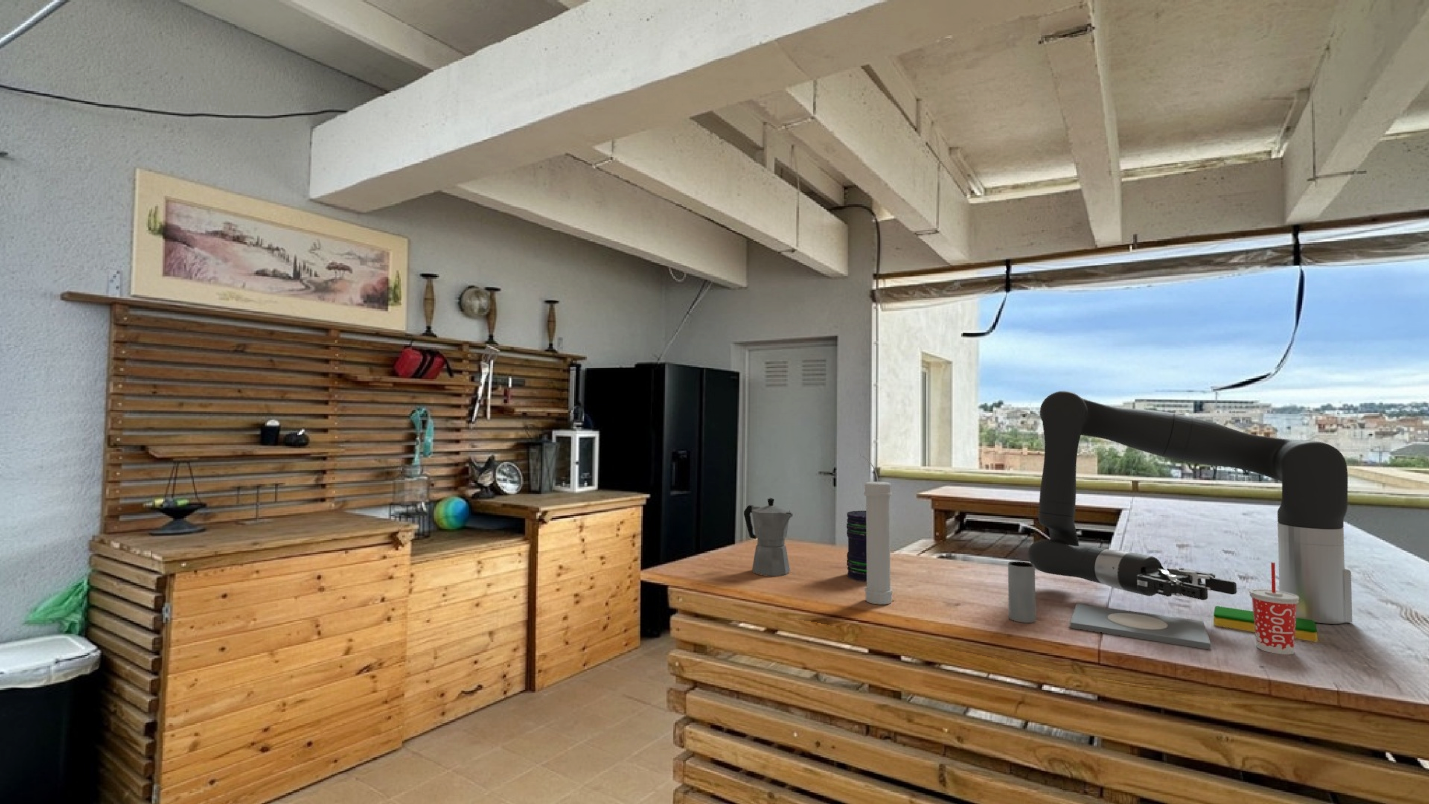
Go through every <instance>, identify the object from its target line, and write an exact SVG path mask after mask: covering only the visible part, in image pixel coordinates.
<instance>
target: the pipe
mask: <svg viewBox="0 0 1429 804" xmlns="http://www.w3.org/2000/svg"><path fill="white" fill-rule="evenodd" d="M860 457H862V458H863V459H865V460H866V461H868V463H869V464H870V465H871V466H872V469H873V470H874V472H875V476H876V481H867V482H865V483H864V493H863V495H864V496H866V497H865V499H866V500H865V502H866V503H865V505H866V508H865V509H866V510H865V511H866V536H867V582H866V586H865V587H864V592H865V601H866V602H867V603H869V604H873V605H881V606H882V605H884V606H885V605H888V604H889V605H890V604H891V603H892V602H893V588H892V587H891V497H892V496H893V493H892V484H891V482H887V481H879V478H878V473H877V471H876V468H875V466H874V464H873V463H872V462H871V461H870V460H869V459H868V458H866V457H865V456H864V455H862V454H860Z"/></svg>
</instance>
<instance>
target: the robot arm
mask: <svg viewBox="0 0 1429 804" xmlns="http://www.w3.org/2000/svg"><path fill="white" fill-rule="evenodd" d="M1039 416H1040V420H1041V422H1042V428H1043V437H1044V459H1043V466H1042V476H1041V480H1040V481H1041V482H1040V488H1039V489H1040V490H1039V491H1040V492H1039V499H1038V500H1039V501H1038V523H1039V524H1040V525H1041V526H1043V527H1045V528H1046V529H1048V532H1049V538H1048V539H1047V538H1046V539H1045V538H1044V539H1038V540H1036V541H1034V542H1033V543H1031V544H1030V545H1029V548H1028V551H1027V557H1028V560H1029V563H1032V564H1034V565H1035V570H1038V571H1040V572H1042V573H1044V574H1050V575H1054V576H1055V575H1056V576H1061V577H1062V576H1064V577H1070V578H1071V577H1072V578H1079V579H1083V580H1087V581H1089V582H1093V583H1098V584H1102V585H1105V586H1107V587H1111V588H1114V589H1117V590H1121V591H1126V592H1129V593H1132V594H1133V593H1134V594H1137V595H1138V594H1139V595H1141V596H1146V597H1153V596H1155V595H1160V596H1161V595H1162V596H1165V597H1168V598H1169V597H1172V596H1175V597H1181V596H1182V597H1183V596H1184V597H1186V598H1187V597H1189V598H1192V599H1195V600H1201V601H1205V600H1208V598H1209V594H1208V592H1209V591H1214V592H1218V593H1223V594H1227V595H1236V594H1237V592H1238V590H1237V588H1238V587H1237V583H1236V582H1235V581H1233V580H1228V579H1223V578H1219V577H1218V578H1216V574H1214V573H1211V572H1203V571H1198V570H1193V569H1189V568H1188V569H1187V568H1184V567H1180V568H1179V567H1178V568H1176V567H1167V568H1166V569H1165V568H1164V566H1163V565H1162V563H1161V561H1160V560H1159V559H1158V558H1156V557H1155V556H1153V555H1146V554H1141V553H1136V552H1132V551H1131V552H1130V551H1125V550H1120V549H1119V550H1118V549H1109V548H1104V547H1103V548H1102V547H1097V546H1089V545H1079V538H1078V533H1077V529H1076V525H1075V515H1076V514H1075V513H1076V502H1077V501H1076V499H1077V460H1078V459H1077V457H1078V453H1079V452H1078V451H1079V444H1080V439H1081V436H1085V437H1091V438H1098V439H1102V440H1108V441H1110V442H1114V443H1117V444H1120V445H1123V446H1126V447H1128V448H1132V449H1135V450H1138V451H1141V452H1145V453H1148V454H1151V455H1155V456H1160V457H1163V458H1167V459H1173V460H1176V461H1180V462H1184V463H1185V462H1187V463H1192V464H1198V465H1206V466H1216V467H1224V468H1225V467H1227V468H1232V469H1233V468H1234V469H1239V470H1243V471H1247V472H1249V473H1250V472H1251V473H1254V474H1258V475H1261V476H1263V477H1264V476H1265V477H1267V478H1271V479H1274V480H1277V481H1280V482H1281V503H1280V505H1279V508H1278V509H1277V549H1278V550H1277V552H1278V553H1277V554H1278V556H1277V557H1278V591H1283V592H1287V593H1291V594H1294V595H1297V596H1298V597H1299V600H1298V601H1299V603H1297V609H1296V618H1302V619H1308V620H1313V621H1314V622H1315V623H1319V624H1321V623H1322V624H1330V625H1331V624H1333V625H1337V624H1339V625H1340V624H1345V623H1351V624H1352V623H1353V597H1352V593H1353V592H1352V571H1351V570H1350V569H1348V568H1346V567H1345V565H1346V564H1345V537H1344V536H1345V534H1344V530H1345V529H1344V527H1345V526H1344V522H1345V521H1344V520H1345V517H1346V515H1347V512H1348V503H1349V502H1348V500H1349V499H1348V492H1349V491H1348V489H1349V485H1348V484H1349V478H1348V477H1349V474H1348V472H1349V471H1348V465H1347V460H1346V458H1345V457H1344V455H1343V454H1342V453H1341V451H1340V450H1339V449H1337V448H1336V447H1334V446H1333V445H1331V444H1329V443H1326V442H1322V441H1315V440H1306V439H1289V438H1282V437H1281V438H1279V437H1271V436H1265V435H1257V434H1252V433H1248V432H1247V433H1246V432H1245V431H1240V430H1238V429H1237V430H1236V429H1234V428H1231V427H1229V426H1225V425H1222V424H1219V423H1216V422H1213V421H1209V420H1205V419H1201V418H1198V417H1193V416H1188V415H1184V414H1179V413H1173V412H1168V411H1162V410H1153V409H1145V408H1144V409H1141V408H1129V407H1128V408H1126V407H1117V406H1111V405H1107V404H1104V403H1099V402H1096V401H1092V400H1090V399H1089V400H1088V399H1086V398H1082V397H1081V396H1080V395H1079V394H1076V393H1075V392H1073V391H1069V390H1060V391H1056V392H1053V393H1050V394H1049V395H1048V396H1047V397H1046V398H1044V400H1043V401H1042V403H1041V405H1040V410H1039ZM1202 579H1203V580H1204V582H1203V581H1202Z"/></svg>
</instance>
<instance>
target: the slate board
mask: <svg viewBox="0 0 1429 804" xmlns="http://www.w3.org/2000/svg"><path fill="white" fill-rule="evenodd" d="M1069 627H1070V628H1069V629H1074V630H1080V629H1083V630H1082V631H1087V630H1088V632H1093V631H1095V632H1094V633H1100V632H1102V633H1101V634H1106V633H1107V635H1113V636H1119V635H1121V636H1120V637H1126V638H1132V639H1139V640H1146V641H1152V642H1159V643H1164V644H1170V645H1171V644H1173V645H1177V646H1185V647H1191V648H1196V647H1197V649H1203V650H1209V651H1210V650H1212V649H1211V647H1212V646H1211V641H1210V637H1209V634H1208V631H1207V628H1206V625H1205V622H1204V620H1198V619H1192V618H1191V619H1190V618H1184V617H1177V616H1176V617H1175V616H1170V615H1162V614H1155V613H1147V612H1141V611H1140V612H1139V611H1133V610H1132V611H1131V610H1127V609H1126V610H1125V609H1117V608H1110V607H1104V606H1097V605H1087V604H1082V603H1076V605H1075V607H1074V610H1073V614H1072V616H1071V620H1070V623H1069Z"/></svg>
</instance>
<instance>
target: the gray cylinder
mask: <svg viewBox="0 0 1429 804" xmlns="http://www.w3.org/2000/svg"><path fill="white" fill-rule="evenodd" d="M1007 576H1008V577H1007V578H1008V579H1007V582H1008V583H1007V584H1008V589H1007V590H1008V592H1007V593H1008V594H1007V595H1008V618H1009V619H1010V620H1011V621H1013V620H1014V622H1016V623H1017V622H1018V623H1024V624H1025V623H1026V624H1029V623H1030V624H1031V623H1034V622H1036V619H1037V618H1036V616H1037V615H1036V568H1035V565H1034V564H1032V563H1031V562H1027V561H1021V560H1020V561H1019V560H1018V561H1016V560H1015V561H1009V562H1008V563H1007Z"/></svg>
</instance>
